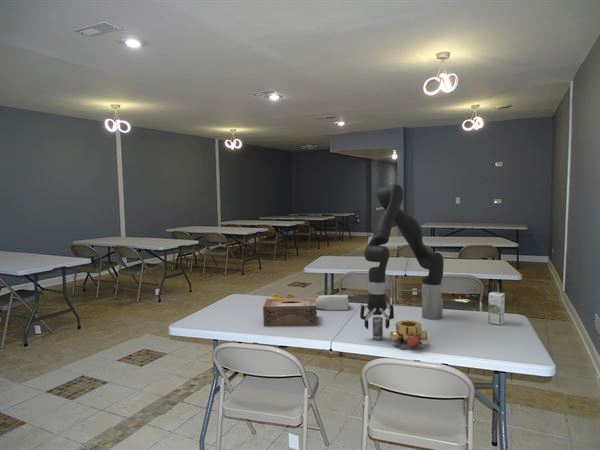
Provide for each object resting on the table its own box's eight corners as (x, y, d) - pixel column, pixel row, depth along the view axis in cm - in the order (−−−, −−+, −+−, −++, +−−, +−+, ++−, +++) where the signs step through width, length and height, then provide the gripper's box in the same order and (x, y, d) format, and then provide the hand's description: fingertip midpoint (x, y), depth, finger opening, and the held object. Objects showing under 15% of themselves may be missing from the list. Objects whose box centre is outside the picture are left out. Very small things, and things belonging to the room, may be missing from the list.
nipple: (381, 336, 181) (381, 316, 180) (383, 339, 177) (383, 319, 176) (371, 336, 181) (371, 316, 180) (373, 340, 177) (373, 319, 176)
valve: (422, 340, 175) (422, 319, 174) (431, 351, 163) (431, 329, 162) (388, 341, 175) (388, 320, 174) (395, 352, 163) (395, 330, 162)
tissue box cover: (263, 326, 199) (263, 306, 198) (267, 317, 213) (266, 298, 212) (316, 326, 198) (316, 305, 197) (316, 317, 212) (316, 298, 211)
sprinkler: (288, 312, 222) (306, 302, 239) (286, 300, 221) (305, 291, 238) (255, 310, 233) (275, 301, 250) (254, 299, 233) (274, 290, 250)
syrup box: (504, 322, 196) (505, 292, 195) (500, 325, 192) (501, 295, 190) (492, 320, 200) (492, 291, 199) (487, 323, 195) (488, 293, 194)
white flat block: (309, 294, 248) (307, 295, 223) (346, 294, 246) (349, 294, 222) (309, 308, 246) (307, 310, 222) (347, 308, 245) (349, 310, 220)
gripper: (391, 289, 181) (391, 325, 182) (359, 289, 181) (359, 325, 182) (395, 293, 174) (395, 330, 175) (361, 293, 174) (361, 331, 175)
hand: (376, 328), depth 179 cm, fingers open, 8 cm apart
